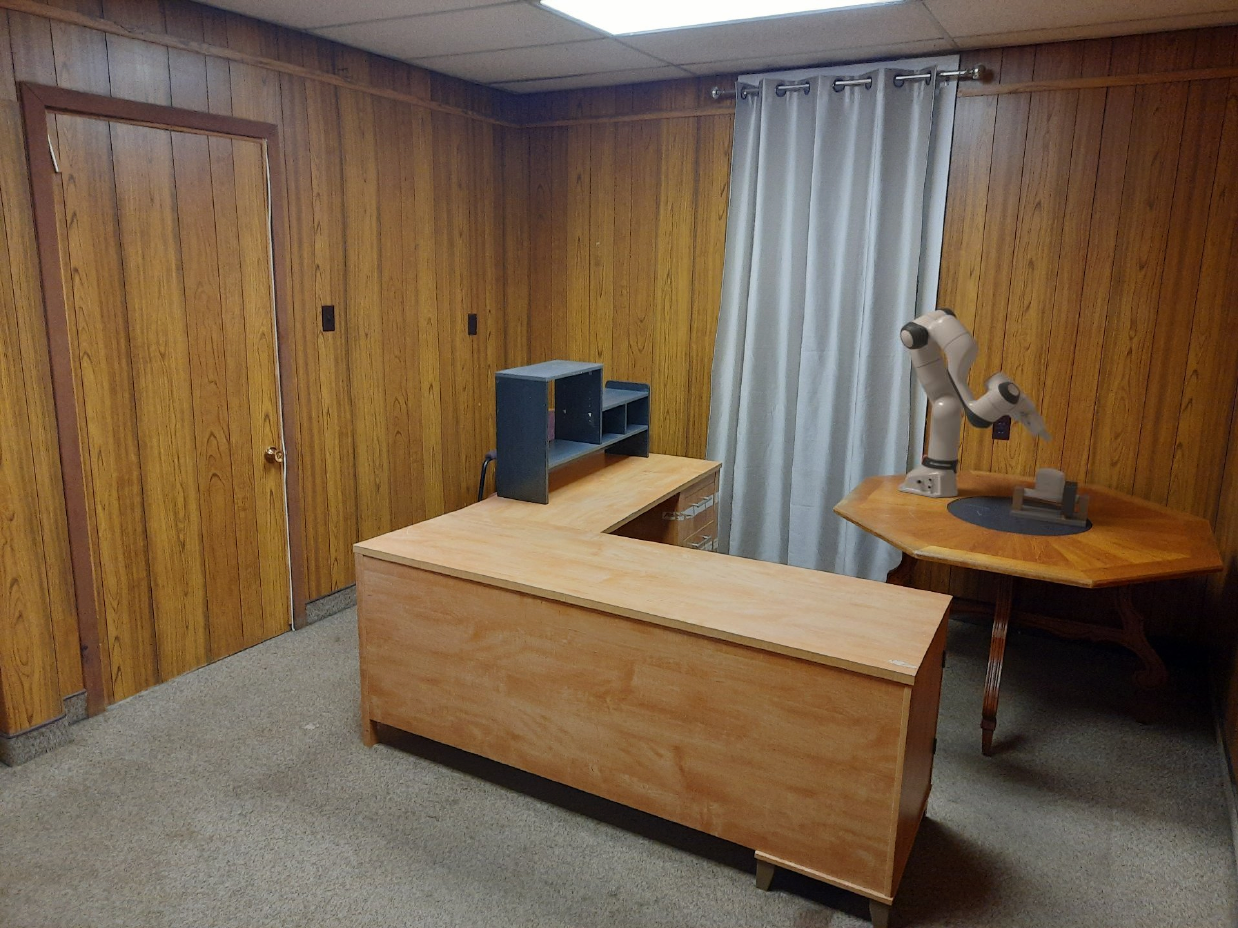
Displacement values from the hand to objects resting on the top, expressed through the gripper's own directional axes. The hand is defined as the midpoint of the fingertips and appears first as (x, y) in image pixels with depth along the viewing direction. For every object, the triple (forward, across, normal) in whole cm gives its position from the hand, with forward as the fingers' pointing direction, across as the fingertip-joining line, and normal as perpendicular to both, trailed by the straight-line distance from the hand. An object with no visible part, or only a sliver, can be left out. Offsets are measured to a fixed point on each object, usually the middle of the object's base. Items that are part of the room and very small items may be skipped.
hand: (1049, 439), depth 304 cm
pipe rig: (+22, -1, +18) cm, 28 cm away
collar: (+24, -1, +12) cm, 26 cm away
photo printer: (+21, +25, +19) cm, 38 cm away
